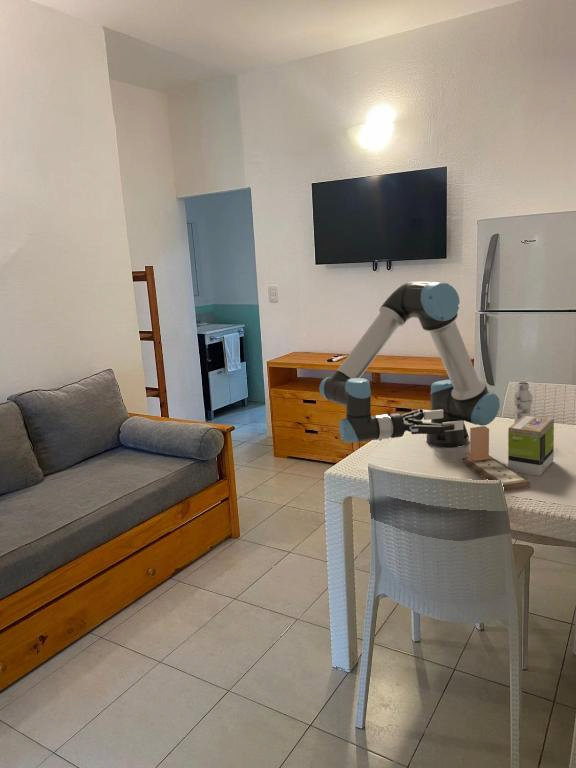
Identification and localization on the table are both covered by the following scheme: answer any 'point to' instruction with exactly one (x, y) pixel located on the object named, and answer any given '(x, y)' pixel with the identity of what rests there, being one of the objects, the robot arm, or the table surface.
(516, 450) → the tea box
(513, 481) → the board
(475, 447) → the tan upright block
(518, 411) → the plastic bottle
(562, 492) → the table surface
